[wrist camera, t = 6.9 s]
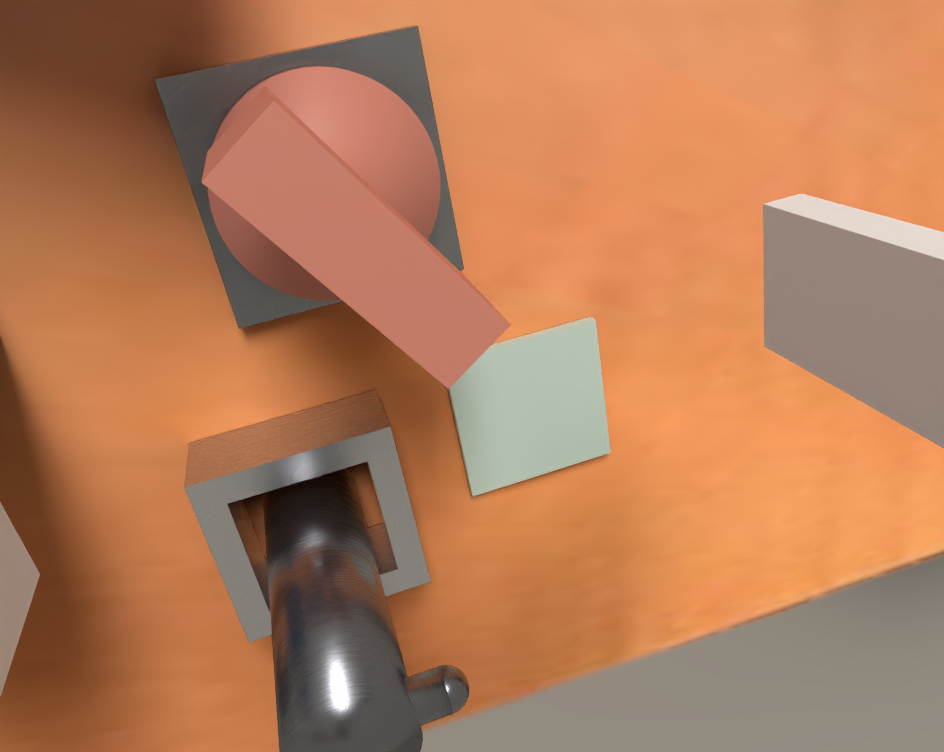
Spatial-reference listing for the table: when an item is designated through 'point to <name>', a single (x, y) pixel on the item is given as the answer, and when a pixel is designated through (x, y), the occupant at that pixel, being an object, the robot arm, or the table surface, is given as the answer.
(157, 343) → the table surface
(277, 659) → the hook peg
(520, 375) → the mat
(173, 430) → the table surface
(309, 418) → the block
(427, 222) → the pink block-head stand
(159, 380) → the table surface
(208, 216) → the wheel base
